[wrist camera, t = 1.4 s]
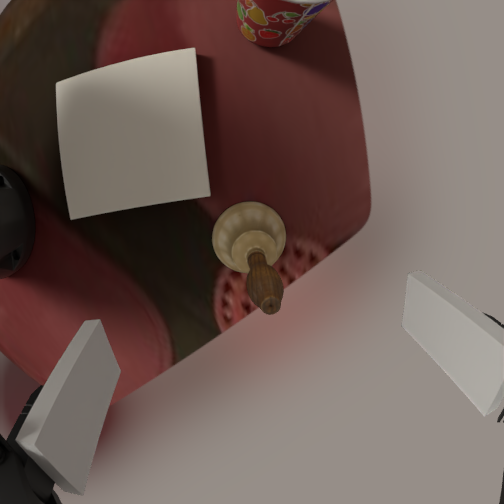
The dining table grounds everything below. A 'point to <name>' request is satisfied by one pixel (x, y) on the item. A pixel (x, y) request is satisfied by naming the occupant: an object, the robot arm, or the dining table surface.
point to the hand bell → (253, 249)
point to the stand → (132, 134)
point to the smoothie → (276, 19)
